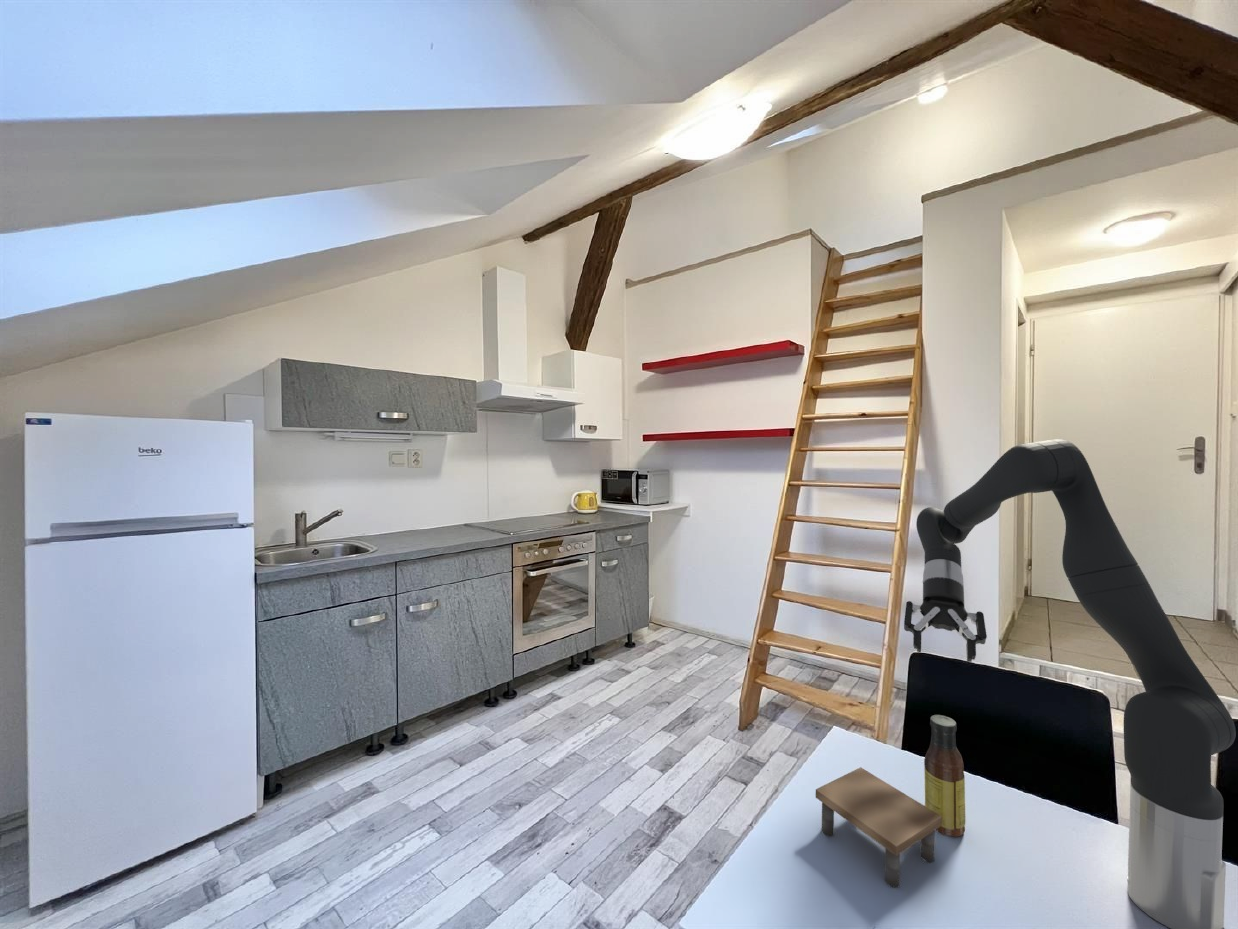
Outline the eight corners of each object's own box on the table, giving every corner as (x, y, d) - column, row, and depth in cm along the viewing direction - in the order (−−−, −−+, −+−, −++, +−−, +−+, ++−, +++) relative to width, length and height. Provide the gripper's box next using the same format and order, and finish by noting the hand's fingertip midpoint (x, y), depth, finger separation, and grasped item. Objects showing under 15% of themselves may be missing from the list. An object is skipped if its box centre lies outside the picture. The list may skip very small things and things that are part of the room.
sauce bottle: (952, 815, 94) (955, 711, 94) (973, 840, 88) (975, 730, 87) (916, 812, 95) (918, 710, 94) (934, 838, 88) (936, 728, 88)
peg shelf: (941, 860, 84) (942, 816, 83) (895, 894, 77) (896, 846, 77) (860, 805, 97) (860, 767, 96) (815, 830, 90) (815, 789, 90)
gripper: (905, 571, 110) (903, 639, 101) (984, 581, 103) (990, 655, 94) (905, 589, 115) (903, 655, 106) (980, 599, 108) (985, 671, 99)
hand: (943, 655), depth 100 cm, fingers open, 8 cm apart
